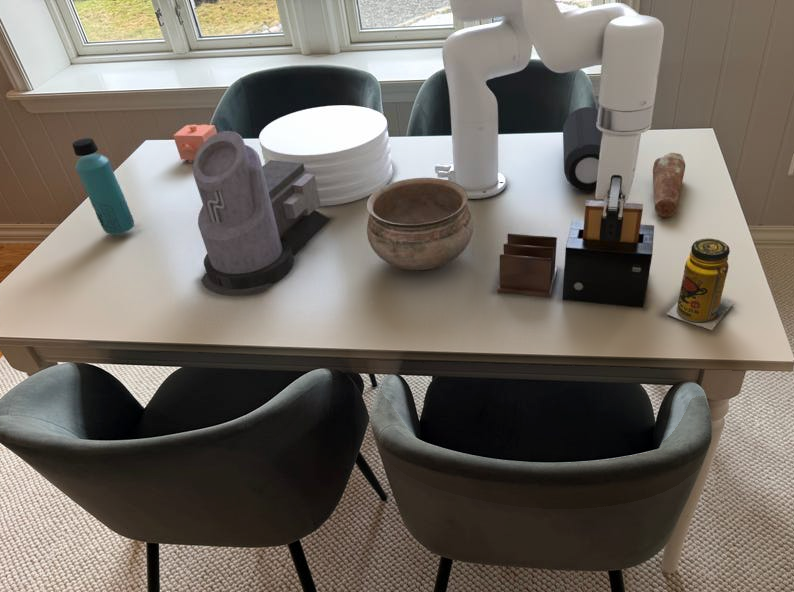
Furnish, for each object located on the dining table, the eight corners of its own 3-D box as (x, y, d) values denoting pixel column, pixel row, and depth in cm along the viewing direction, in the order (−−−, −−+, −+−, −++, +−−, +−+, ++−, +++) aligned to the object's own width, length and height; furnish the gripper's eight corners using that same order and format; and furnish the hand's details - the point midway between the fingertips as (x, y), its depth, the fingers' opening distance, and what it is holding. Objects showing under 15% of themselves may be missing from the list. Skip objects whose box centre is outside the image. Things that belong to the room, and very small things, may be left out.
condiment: (665, 315, 105) (678, 249, 98) (688, 290, 110) (702, 225, 102) (711, 331, 102) (728, 264, 94) (733, 304, 106) (750, 238, 99)
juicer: (260, 302, 116) (221, 169, 101) (185, 288, 122) (138, 160, 106) (339, 220, 137) (317, 99, 121) (273, 211, 142) (244, 94, 127)
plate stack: (416, 163, 156) (411, 114, 148) (342, 216, 138) (332, 164, 131) (323, 145, 168) (315, 99, 161) (245, 191, 151) (231, 142, 143)
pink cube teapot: (175, 168, 164) (164, 135, 158) (198, 148, 172) (188, 117, 167) (204, 169, 162) (194, 136, 157) (226, 149, 171) (217, 117, 165)
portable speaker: (612, 196, 137) (617, 149, 130) (562, 196, 138) (565, 150, 132) (604, 145, 156) (608, 102, 149) (561, 146, 157) (563, 103, 151)
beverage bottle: (144, 228, 141) (108, 135, 128) (121, 243, 136) (81, 149, 123) (121, 223, 143) (83, 132, 130) (98, 238, 139) (56, 145, 126)
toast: (580, 266, 110) (585, 205, 103) (581, 260, 111) (586, 200, 104) (633, 271, 108) (642, 209, 100) (634, 265, 109) (643, 203, 102)
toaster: (561, 303, 110) (564, 250, 103) (568, 270, 117) (572, 219, 111) (643, 311, 107) (652, 257, 100) (645, 277, 114) (654, 225, 107)
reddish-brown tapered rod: (683, 177, 141) (687, 152, 137) (677, 221, 127) (682, 194, 124) (652, 175, 142) (655, 150, 139) (643, 218, 129) (647, 191, 125)
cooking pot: (453, 305, 112) (450, 241, 104) (349, 292, 117) (338, 230, 109) (488, 231, 129) (487, 172, 122) (397, 223, 135) (390, 165, 127)
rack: (497, 292, 114) (496, 256, 109) (506, 266, 120) (506, 231, 115) (550, 297, 111) (552, 261, 107) (557, 270, 117) (559, 235, 113)
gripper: (602, 93, 100) (592, 202, 112) (591, 138, 88) (581, 256, 100) (654, 94, 99) (638, 205, 110) (650, 140, 86) (633, 260, 98)
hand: (611, 228), depth 105 cm, fingers open, 5 cm apart
